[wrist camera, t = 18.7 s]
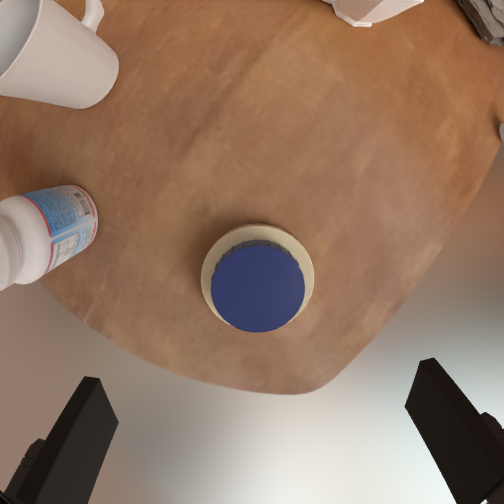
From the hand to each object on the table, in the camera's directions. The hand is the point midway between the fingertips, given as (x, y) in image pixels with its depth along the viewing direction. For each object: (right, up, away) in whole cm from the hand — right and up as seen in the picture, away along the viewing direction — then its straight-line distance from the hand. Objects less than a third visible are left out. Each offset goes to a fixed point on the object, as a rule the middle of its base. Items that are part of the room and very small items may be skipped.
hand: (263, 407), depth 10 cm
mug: (-14, +23, +9) cm, 28 cm away
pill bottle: (-16, +9, +13) cm, 22 cm away
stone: (+26, +38, +2) cm, 46 cm away
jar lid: (0, +3, +12) cm, 12 cm away
